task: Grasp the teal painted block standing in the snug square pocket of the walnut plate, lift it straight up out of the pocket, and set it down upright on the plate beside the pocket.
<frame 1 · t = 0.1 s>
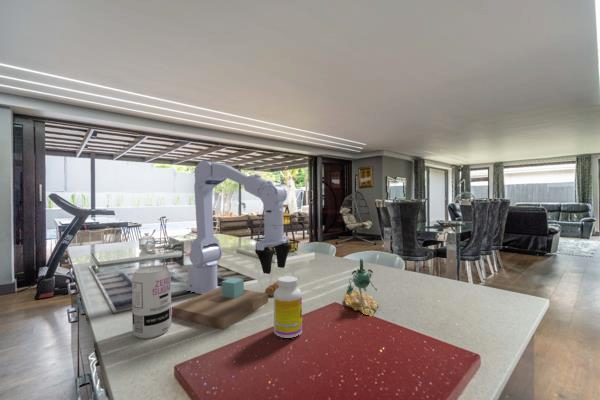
hand: (274, 270, 86), 10 cm above the kitchen island counter, fingers open, 7 cm apart
supplement can: (152, 332, 69), on the kitchen island counter
pastry: (280, 293, 96), on the kitchen island counter
walnut pocket plate: (223, 308, 82), on the kitchen island counter
teal block: (233, 303, 86), resting in walnut pocket plate
frog figurine: (360, 305, 85), on the kitchen island counter
supplement bottle: (288, 334, 67), on the kitchen island counter
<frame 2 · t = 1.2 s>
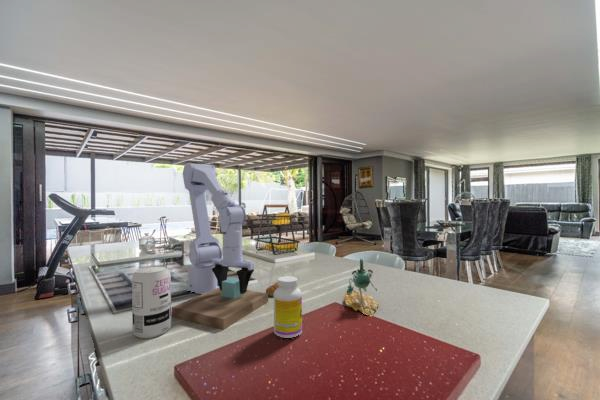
hand: (233, 291, 86), 4 cm above the kitchen island counter, fingers open, 7 cm apart
nothing on the kitchen island counter moved.
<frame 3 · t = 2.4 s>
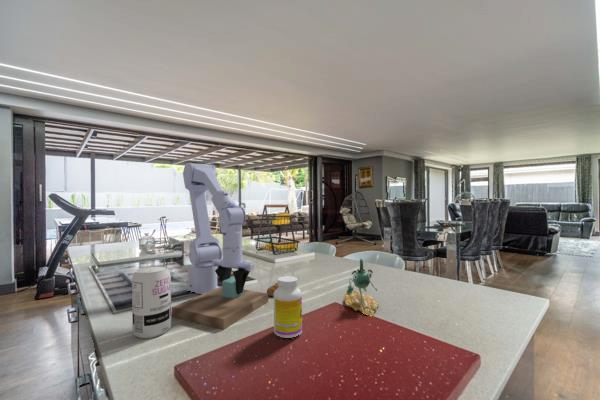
hand: (233, 292, 86), 3 cm above the kitchen island counter, fingers closed on teal block, 4 cm apart
teal block: (233, 303, 86), resting in walnut pocket plate, touching gripper
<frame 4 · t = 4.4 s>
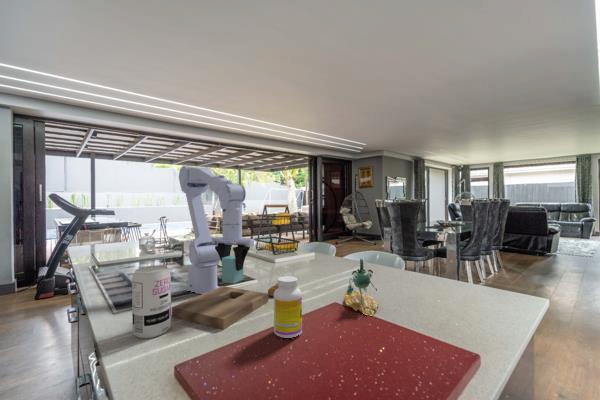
hand: (232, 269, 86), 10 cm above the kitchen island counter, fingers closed on teal block, 4 cm apart
teal block: (232, 280, 86), point 7 cm above the kitchen island counter, touching gripper
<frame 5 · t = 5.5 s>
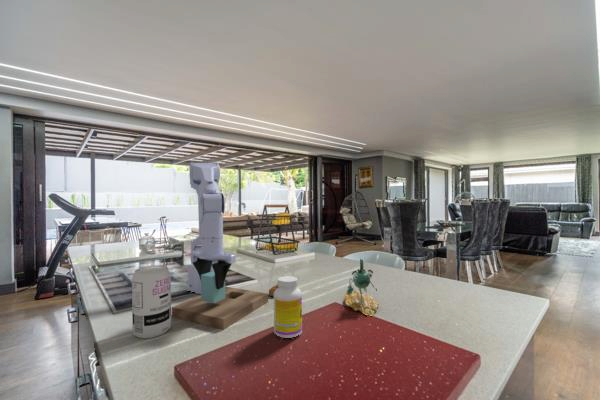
hand: (212, 286, 78), 7 cm above the kitchen island counter, fingers closed on teal block, 4 cm apart
teal block: (213, 299, 79), point 4 cm above the kitchen island counter, touching gripper
when the fingers open (7 cm above the kitchen island counter, at t = 6.4 s): teal block stays where it is, resting on walnut pocket plate.
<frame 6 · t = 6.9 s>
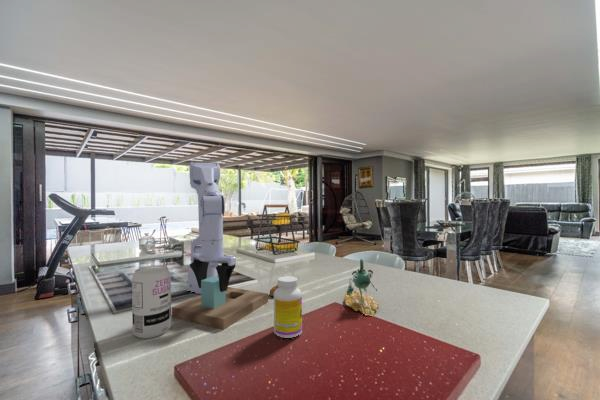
hand: (212, 288, 78), 7 cm above the kitchen island counter, fingers open, 7 cm apart
teal block: (213, 304, 79), point 2 cm above the kitchen island counter, touching walnut pocket plate
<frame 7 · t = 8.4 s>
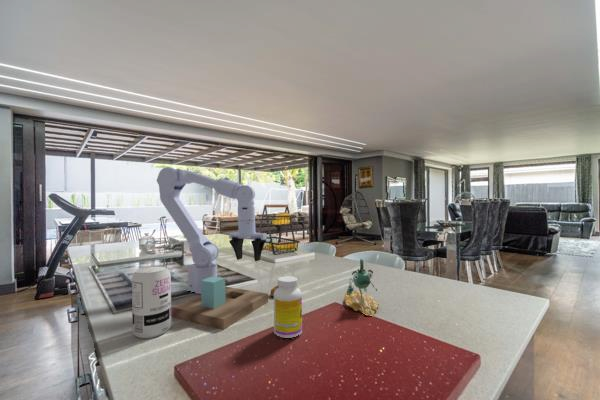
hand: (248, 259, 98), 10 cm above the kitchen island counter, fingers open, 7 cm apart
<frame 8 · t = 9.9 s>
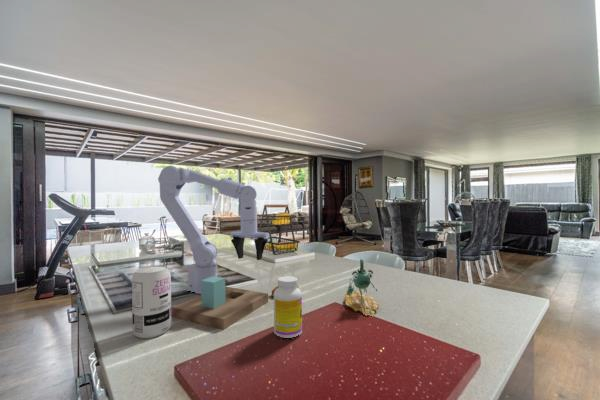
hand: (249, 258, 100), 10 cm above the kitchen island counter, fingers open, 7 cm apart
at the end: teal block inside the target area on the walnut pocket plate (0.5 cm from its centre), point 2.5 cm above the walnut pocket plate's base; teal block tilted 0°; the gripper is holding nothing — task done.
